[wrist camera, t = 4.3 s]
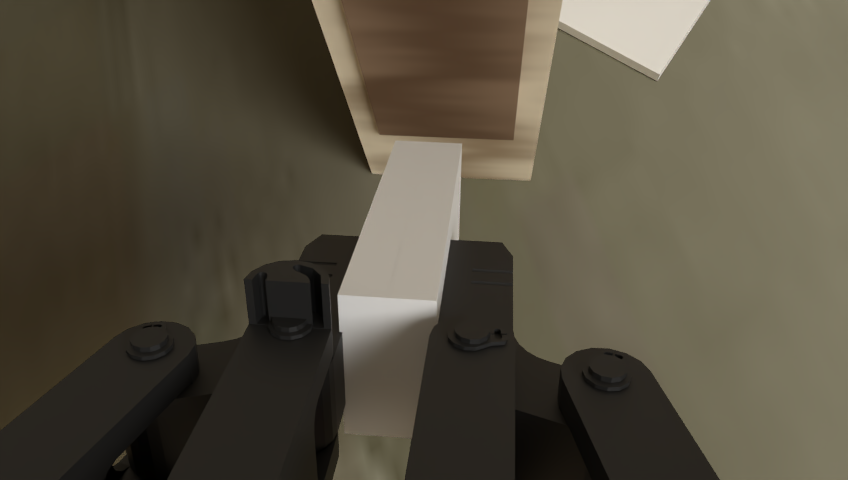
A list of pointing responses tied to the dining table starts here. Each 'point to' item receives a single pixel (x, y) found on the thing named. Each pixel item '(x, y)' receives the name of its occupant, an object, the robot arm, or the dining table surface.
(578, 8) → the mat
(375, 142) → the birch block
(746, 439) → the dining table surface
